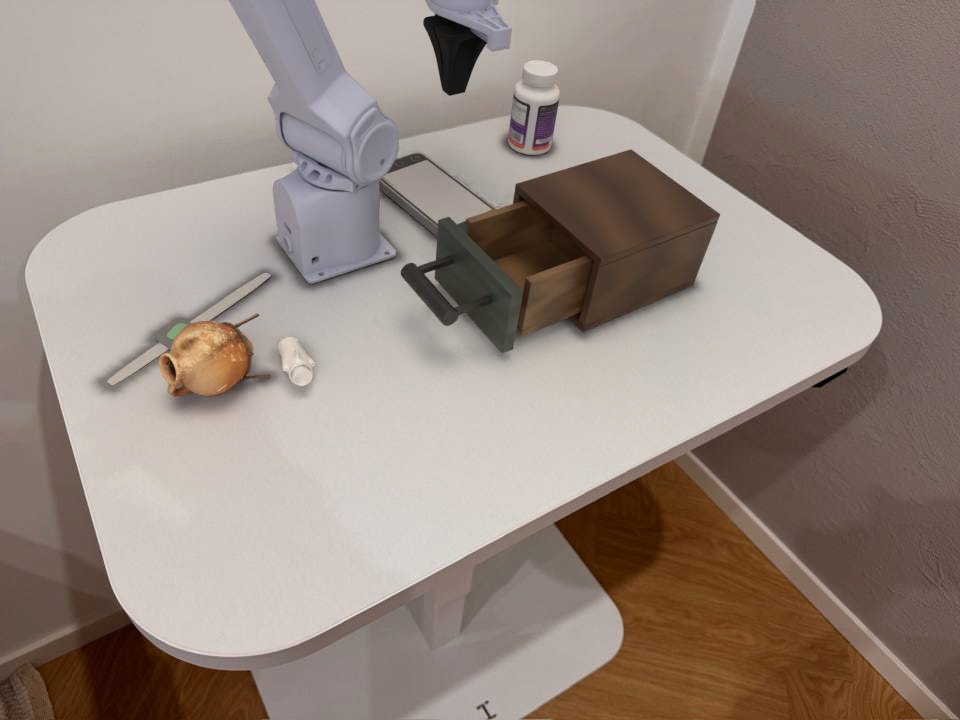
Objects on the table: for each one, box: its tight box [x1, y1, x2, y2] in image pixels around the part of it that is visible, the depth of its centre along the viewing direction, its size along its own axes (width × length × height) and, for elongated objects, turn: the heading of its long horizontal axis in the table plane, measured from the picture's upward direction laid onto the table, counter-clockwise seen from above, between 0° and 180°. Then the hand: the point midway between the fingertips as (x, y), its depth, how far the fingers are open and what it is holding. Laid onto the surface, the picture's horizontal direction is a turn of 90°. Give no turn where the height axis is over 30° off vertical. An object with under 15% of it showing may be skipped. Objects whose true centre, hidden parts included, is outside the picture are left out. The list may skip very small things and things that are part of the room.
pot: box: [158, 312, 272, 398], centre depth 59 cm, size 6×8×6 cm
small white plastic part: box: [277, 336, 316, 387], centre depth 61 cm, size 4×6×3 cm, turn 179°
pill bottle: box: [507, 59, 561, 156], centre depth 88 cm, size 5×5×10 cm
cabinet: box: [512, 149, 721, 333], centre depth 72 cm, size 15×13×9 cm
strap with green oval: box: [106, 272, 272, 386], centre depth 65 cm, size 18×1×3 cm
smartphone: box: [379, 151, 497, 237], centre depth 81 cm, size 7×1×15 cm
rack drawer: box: [400, 200, 594, 355], centre depth 67 cm, size 18×11×7 cm, turn 124°
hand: (453, 91), depth 77 cm, fingers closed
